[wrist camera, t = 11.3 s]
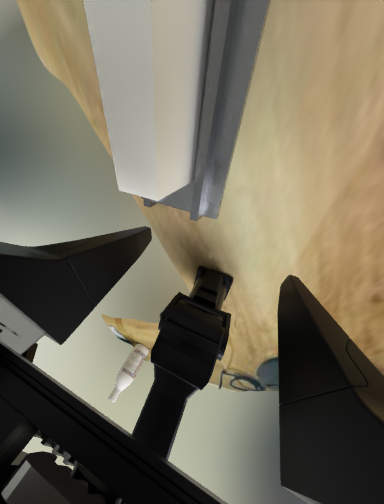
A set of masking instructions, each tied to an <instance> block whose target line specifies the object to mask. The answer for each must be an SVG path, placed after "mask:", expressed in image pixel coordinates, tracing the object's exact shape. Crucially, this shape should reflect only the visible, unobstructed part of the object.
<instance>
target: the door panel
mask: <svg viewBox="0 0 384 504" xmlns="http://www.w3.org/2000/svg"><path fill="white" fill-rule="evenodd" d="M83 2H84V7H85V13H86V18H87V23H88V29H89V34H90V39H91V45H92V50H93V55H94V61H95V66H96V71H97V76H98V82H99V87H100V92H101V98H102V103H103V108H104V114H105V119H106V124H107V130H108V135H109V140H110V145H111V151H112V156H113V161H114V167H115V171H116V177H117V182H118V187H119V190H120V191H123V192H127V193H131V194H134V195H137V196H141V197H145V198H148V199H152V200H155V201H159V200H160V199H162V198H164V197H166V196H168V195H169V194H171V193H173V192H175V191H177V190H178V189H180V188H182V187H184V186H186V185H188V184H189V183H191V182H193V175H194V166H195V156H196V147H197V138H198V129H199V120H200V111H201V101H202V92H203V83H204V74H205V65H206V55H207V46H208V37H209V28H210V19H211V10H212V0H83Z"/></svg>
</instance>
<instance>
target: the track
mask: <svg viewBox="0 0 384 504" xmlns="http://www.w3.org/2000/svg"><path fill="white" fill-rule="evenodd" d="M269 4H270V0H212V10H211V19H210V28H209V37H208V46H207V55H206V65H205V74H204V83H203V92H202V101H201V111H200V120H199V129H198V138H197V147H196V156H195V166H194V175H193V182H191V183H189V184H188V185H186V186H184V187H182V188H180V189H178V190H177V191H175V192H173V193H171V194H169V195H168V196H166V197H164V198H162V199H160V200H159V201H155V200H152V199H148V198H145V197H141V198H143V199H144V206H147V207H152V206H154V205H155V204H157V203H160V204H164V205H167V206H171V207H174V208H178V209H181V210H185V211H188V212H191V216H190V219H191V220H195V221H198V220H199V219H200V218H201V216H206V217H209V218H213V219H217V218H218V214H219V210H220V206H221V202H222V198H223V193H224V189H225V185H226V181H227V177H228V173H229V169H230V165H231V161H232V156H233V152H234V148H235V144H236V140H237V136H238V132H239V128H240V124H241V119H242V115H243V111H244V107H245V103H246V99H247V95H248V91H249V87H250V82H251V78H252V74H253V70H254V66H255V62H256V58H257V54H258V50H259V45H260V41H261V37H262V33H263V29H264V25H265V21H266V17H267V13H268V8H269Z"/></svg>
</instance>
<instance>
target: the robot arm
mask: <svg viewBox="0 0 384 504" xmlns="http://www.w3.org/2000/svg"><path fill="white" fill-rule="evenodd" d="M151 239H152V236H151V229H150V228H149V227H146V226H144V227H139V228H134V229H129V230H124V231H120V232H115V233H110V234H106V235H100V236H95V237H92V238H86V239H81V240H75V241H70V242H63V243H57V244H50V245H44V246H36V247H27V246H19V245H14V244H8V243H3V242H0V504H227V503H226V502H225V501H223V500H222V499H221V498H219V497H218V496H216V495H215V494H214V493H212V492H211V491H209V490H208V489H207V488H205V487H204V486H202V485H201V484H200V483H198V482H197V481H195V480H194V479H192V478H191V477H190V476H188V475H187V474H186V473H184V472H183V471H182V470H180V469H179V468H177V467H176V466H174V465H173V464H172V463H170V462H169V461H168V458H169V455H170V452H171V448H172V446H173V443H174V440H175V436H176V433H177V430H178V427H179V424H180V421H181V418H182V415H183V412H184V409H185V405H186V403H187V400H188V398H190V397H191V396H192V395H193V394H194V393H195V392H196V391H197V390H198V389H200V390H202V389H203V388H204V387H205V386H206V385H207V383H208V382H209V379H210V378H211V376H212V372H213V369H214V366H215V363H216V359H218V360H220V361H221V359H222V357H223V355H224V352H225V349H226V345H227V341H228V336H229V328H230V320H231V314H230V313H226V312H224V311H221V309H222V305H223V301H224V300H225V298H226V296H227V294H228V292H229V289H230V287H231V285H232V283H233V278H232V277H230V276H227V275H224V274H222V273H219V272H216V271H213V270H211V269H208V268H205V267H203V266H199V267H198V269H197V274H196V279H195V284H194V287H193V289H192V291H191V293H190V295H189V297H188V296H186V295H184V294H182V293H180V292H179V293H178V294H177V295H176V296H175V297H174V298H173V299H172V301H171V302H170V303H169V304H168V306H167V307H166V308H165V310H164V311H163V312H162V313H161V314H160V323H159V327H158V329H159V330H160V332H159V335H158V337H157V339H156V342H155V344H154V346H153V348H152V350H151V362H152V363H153V364H154V375H155V376H154V378H155V379H154V383H153V385H152V388H151V390H150V392H149V394H148V397H147V399H146V402H145V405H144V407H143V409H142V411H141V414H140V416H139V418H138V421H137V423H136V426H135V428H134V430H133V433H132V435H131V434H130V433H128V432H127V431H126V430H124V429H123V428H122V427H120V426H119V425H117V424H116V423H114V422H113V421H112V420H110V419H109V418H108V417H106V416H105V415H104V414H102V413H101V412H99V411H98V410H97V409H95V408H94V407H92V406H91V405H90V404H88V403H87V402H85V401H84V400H83V399H81V398H80V397H78V396H77V395H76V394H74V393H73V392H72V391H70V390H69V389H67V388H66V387H65V386H63V385H62V384H60V383H59V382H57V381H56V380H55V379H53V378H52V377H51V376H49V375H47V374H46V373H45V372H44V371H42V370H41V369H39V368H38V367H37V366H35V365H34V364H33V363H32V362H33V359H34V356H35V352H36V349H37V346H38V344H37V343H36V342H37V341H38V340H39V339H40V338H42V337H43V336H44V335H46V336H47V337H49V338H50V339H52V340H53V341H55V342H57V343H58V344H60V345H62V344H63V343H64V342H65V341H66V340H67V339H68V337H69V336H70V335H71V334H72V333H73V332H74V331H75V329H76V328H77V327H78V326H79V325H80V324H81V323H82V322H83V320H84V319H85V318H86V317H87V316H88V315H89V314H90V312H91V311H92V310H93V309H94V308H95V307H96V306H97V304H98V303H99V302H100V301H101V300H102V299H103V298H104V296H105V295H106V294H107V293H108V292H109V291H110V290H111V288H113V286H114V285H115V284H116V283H117V282H118V281H119V280H120V278H121V277H122V276H123V275H124V274H125V273H126V272H127V271H128V269H129V268H130V267H131V266H132V265H133V264H134V263H135V262H136V260H137V259H138V258H139V257H140V256H141V254H142V253H143V251H144V250H145V248H146V247H147V246H148V244H149V243H150V241H151ZM200 268H201V269H200ZM278 362H279V404H280V405H279V426H280V477H281V478H280V479H281V486H282V487H284V488H285V489H287V490H288V491H290V492H291V493H293V494H295V495H296V496H298V497H299V498H301V499H302V500H304V501H305V502H307V503H309V504H384V375H383V374H382V373H381V372H380V371H379V370H378V369H377V368H376V367H375V366H374V365H373V363H372V362H371V361H370V360H369V359H368V358H367V357H366V356H365V355H364V353H363V352H362V351H361V350H360V349H359V348H358V347H357V345H356V344H355V343H354V342H353V341H352V340H351V339H350V338H349V336H348V335H347V334H346V333H345V332H344V330H343V329H342V328H341V327H340V326H339V325H338V323H337V322H336V321H335V320H334V319H333V318H332V316H331V315H330V314H329V313H328V312H327V311H326V309H325V308H324V307H323V306H322V305H321V304H320V302H319V301H318V300H317V299H316V298H315V297H314V295H313V294H312V293H311V292H310V291H309V290H308V289H307V287H306V286H305V285H304V284H303V283H302V282H301V280H300V279H299V278H298V277H296V276H293V275H289V276H287V278H286V279H285V280H284V282H283V283H282V284H281V287H280V295H279V303H278ZM33 436H34V437H38V438H42V439H43V440H42V442H41V443H42V444H43V445H45V446H49V447H52V448H53V450H52V453H48V452H43V451H42V452H35V453H29V454H28V453H25V452H23V451H22V450H23V449H24V448H25V446H26V445H27V444H28V443H29V441H30V440H31V439H32V437H33ZM56 455H58V456H62V457H64V460H63V463H64V464H66V465H71V466H74V469H73V470H72V469H71V468H69V467H68V466H62V465H57V464H56V463H55V460H56V459H57V456H56Z"/></svg>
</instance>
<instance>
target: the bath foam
mask: <svg viewBox="0 0 384 504" xmlns="http://www.w3.org/2000/svg"><path fill="white" fill-rule="evenodd" d="M148 353H149V349H148V348H147V347H146V346H144V345H142V344H140V343H138V344H136V346H135V348H134V349H133V351H132V352H131V354H130V355H129V357H128V358H127V360H126V361H125V363H124V365H123V366H122V368H121V369H120V371H119V373H118V375H117V378H116V384H115V388H114V390H113V391H112V393H111V394H110V396H109V398H108V399H109V400H110V401H112V402H113V403H114V402H115V401H116V399H117V397H118V396H119V394H120V392H121V391H122V390H123V389H125V388H126V387H128V386H129V385H130V384H131V382H132V381H133V379H134V378H135V376H136V374H137V372H138V371H139V369H140V367H141V365H142V363H143V362H144V360H145V358H146V356H147V355H148Z"/></svg>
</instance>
